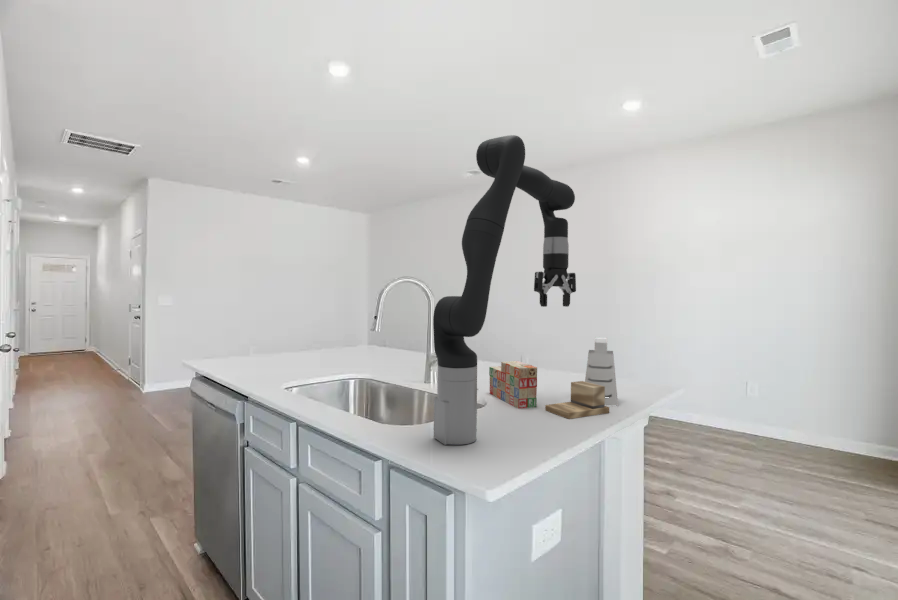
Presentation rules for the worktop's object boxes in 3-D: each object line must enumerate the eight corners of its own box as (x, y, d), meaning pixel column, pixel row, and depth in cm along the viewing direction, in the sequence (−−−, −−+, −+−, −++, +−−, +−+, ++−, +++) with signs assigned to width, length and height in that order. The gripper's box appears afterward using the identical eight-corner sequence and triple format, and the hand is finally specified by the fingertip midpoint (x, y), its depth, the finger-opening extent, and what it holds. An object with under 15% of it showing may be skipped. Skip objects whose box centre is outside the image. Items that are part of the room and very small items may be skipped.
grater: (582, 403, 144) (583, 339, 143) (583, 396, 154) (584, 336, 153) (618, 406, 140) (619, 340, 140) (617, 398, 150) (618, 337, 150)
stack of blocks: (488, 393, 157) (489, 357, 156) (505, 392, 159) (505, 356, 158) (518, 409, 136) (518, 367, 136) (537, 407, 138) (537, 366, 138)
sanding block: (592, 409, 130) (592, 387, 130) (570, 402, 138) (571, 382, 138) (604, 407, 132) (604, 386, 132) (582, 400, 140) (582, 381, 140)
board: (568, 419, 126) (568, 413, 126) (545, 410, 135) (545, 404, 134) (609, 412, 132) (609, 407, 132) (584, 405, 141) (584, 399, 141)
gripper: (544, 251, 134) (544, 307, 134) (582, 253, 140) (581, 306, 140) (529, 252, 140) (528, 306, 141) (565, 255, 147) (564, 306, 147)
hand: (555, 306), depth 140 cm, fingers open, 8 cm apart
